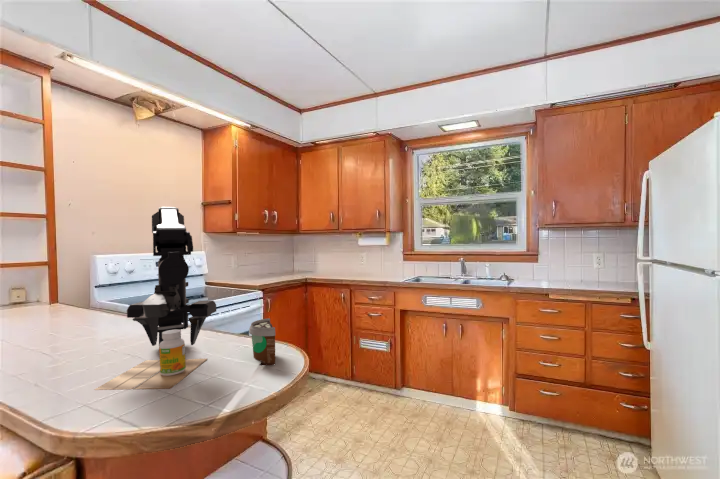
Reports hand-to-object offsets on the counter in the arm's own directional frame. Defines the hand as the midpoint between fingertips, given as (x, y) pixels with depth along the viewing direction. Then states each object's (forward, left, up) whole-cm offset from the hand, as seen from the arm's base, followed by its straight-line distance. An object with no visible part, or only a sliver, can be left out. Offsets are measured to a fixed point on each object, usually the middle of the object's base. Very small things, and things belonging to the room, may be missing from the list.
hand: (173, 345), depth 84 cm
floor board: (0, -8, -8) cm, 12 cm away
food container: (-11, +18, -8) cm, 22 cm away
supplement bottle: (0, 0, -7) cm, 7 cm away
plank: (0, 0, -8) cm, 8 cm away
